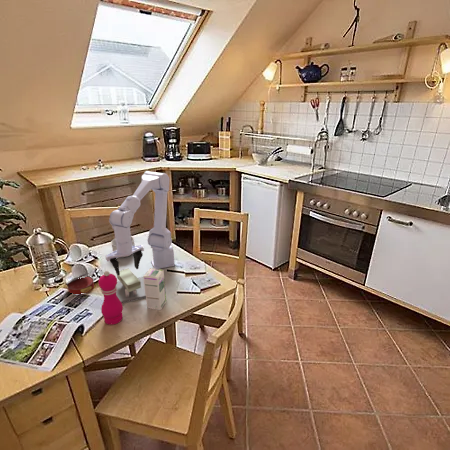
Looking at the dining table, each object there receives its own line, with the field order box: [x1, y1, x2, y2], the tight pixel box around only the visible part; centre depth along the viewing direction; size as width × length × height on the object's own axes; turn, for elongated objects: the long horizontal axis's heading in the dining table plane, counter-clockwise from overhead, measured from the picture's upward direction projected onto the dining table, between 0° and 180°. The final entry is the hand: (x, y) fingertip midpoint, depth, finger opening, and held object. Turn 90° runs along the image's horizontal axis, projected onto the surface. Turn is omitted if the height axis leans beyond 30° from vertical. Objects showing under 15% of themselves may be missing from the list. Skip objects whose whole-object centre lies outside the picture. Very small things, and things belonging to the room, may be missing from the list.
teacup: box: [110, 236, 136, 258], centre depth 156 cm, size 14×11×8 cm
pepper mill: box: [98, 270, 124, 326], centre depth 108 cm, size 7×7×20 cm
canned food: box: [65, 272, 95, 294], centre depth 128 cm, size 11×10×10 cm
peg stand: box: [116, 276, 146, 304], centre depth 127 cm, size 18×14×4 cm
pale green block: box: [116, 268, 141, 292], centre depth 126 cm, size 12×5×3 cm, turn 38°
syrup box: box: [142, 267, 167, 311], centre depth 117 cm, size 6×6×14 cm
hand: (127, 271), depth 124 cm, fingers open, 7 cm apart
